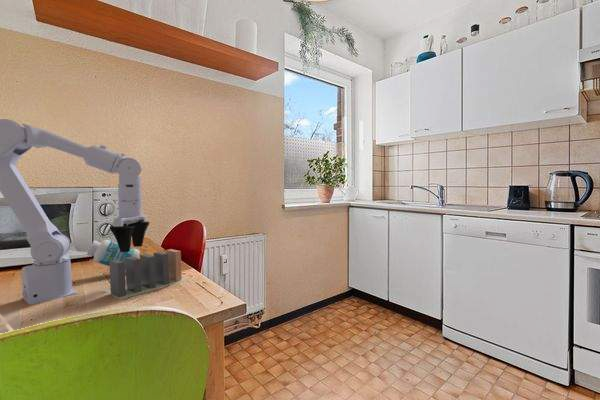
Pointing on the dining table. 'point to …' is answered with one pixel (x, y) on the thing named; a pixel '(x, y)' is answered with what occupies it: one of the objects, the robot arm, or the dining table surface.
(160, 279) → the domino
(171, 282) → the mat
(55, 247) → the robot arm
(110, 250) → the pill bottle
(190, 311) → the dining table surface
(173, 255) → the domino
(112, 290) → the domino
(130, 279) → the domino
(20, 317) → the dining table surface
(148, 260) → the domino
